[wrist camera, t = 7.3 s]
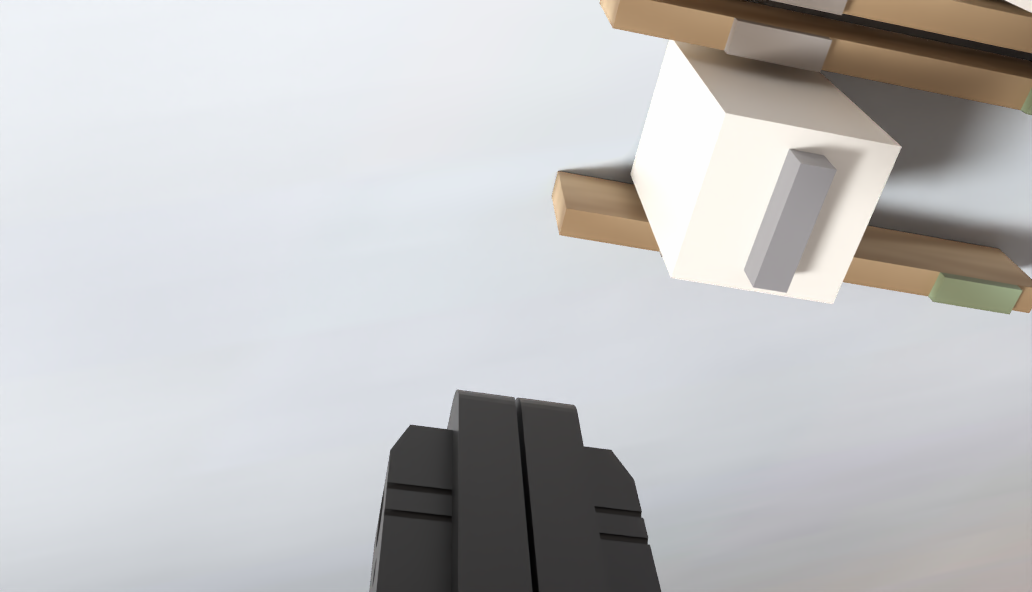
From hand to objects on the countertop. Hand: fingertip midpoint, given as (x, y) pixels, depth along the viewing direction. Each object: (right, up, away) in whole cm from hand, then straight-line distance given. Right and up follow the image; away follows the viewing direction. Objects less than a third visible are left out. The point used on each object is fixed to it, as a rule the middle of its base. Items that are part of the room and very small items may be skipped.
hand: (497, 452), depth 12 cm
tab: (+6, +7, +14) cm, 17 cm away
